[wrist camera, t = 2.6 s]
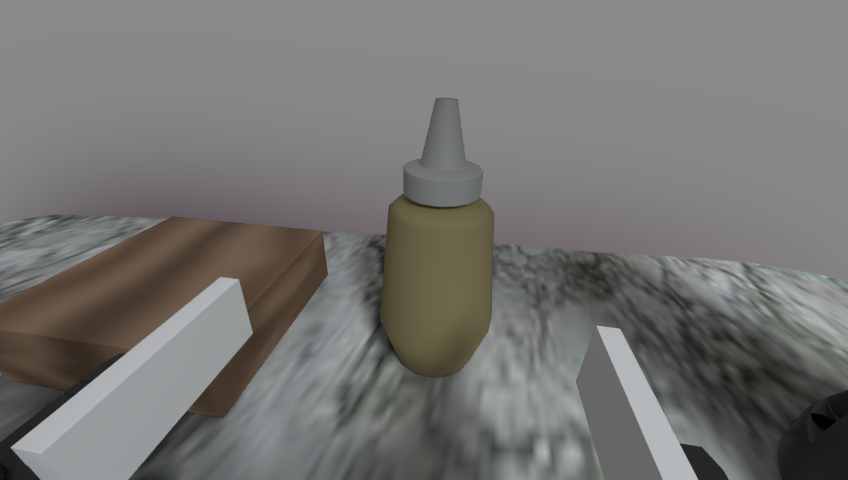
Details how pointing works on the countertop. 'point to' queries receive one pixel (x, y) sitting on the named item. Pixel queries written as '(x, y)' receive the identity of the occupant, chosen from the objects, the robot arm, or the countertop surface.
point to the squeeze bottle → (438, 254)
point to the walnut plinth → (161, 301)
